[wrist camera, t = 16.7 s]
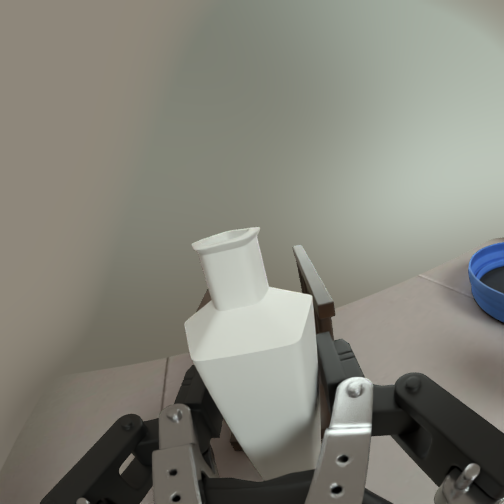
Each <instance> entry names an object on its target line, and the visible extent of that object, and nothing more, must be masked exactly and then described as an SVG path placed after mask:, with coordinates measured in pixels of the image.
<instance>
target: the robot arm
mask: <svg viewBox="0 0 504 504" xmlns="http://www.w3.org/2000/svg"><path fill="white" fill-rule="evenodd" d="M316 344H317V359H318V368H319V372H320V376H321V380H322V384H323V388H324V392H325V397H326V401H327V405H328V409H329V413H330V417H331V421H330V426H329V428H326V430H325V433H324V437H323V442H322V446H321V450H320V453H319V457H318V461H317V465H316V468H315V469H312V470H306V471H300V472H294V473H289V474H286V475H283V476H280V477H277V478H273V479H270V480H267V481H263V482H254V481H247V480H241V479H235V478H219V474H218V470H217V466H216V462H215V458H214V454H213V450H212V447H211V445H210V440H211V438H220V432H221V427H222V421H223V416H222V414H221V413H220V411H219V409H218V407H217V406H216V404H215V402H214V400H213V399H212V397H211V395H210V393H209V391H208V389H207V388H206V386H205V384H204V382H203V380H202V378H201V376H200V374H199V373H198V371H197V369H196V367H195V365H192V366H191V367H190V369H189V370H188V371H187V372H186V374H185V377H184V380H183V382H182V384H181V385H182V386H181V387H180V390H179V392H178V395H177V397H176V400H175V403H174V404H173V405H170V406H168V407H166V408H165V409H163V410H162V411H161V413H160V415H159V418H157V419H153V420H149V421H144V422H143V421H142V419H141V418H140V416H138V415H136V414H128V415H124V416H122V417H121V418H119V419H118V420H117V421H116V422H115V423H114V424H113V425H112V426H111V427H110V428H109V430H108V431H107V432H106V433H105V434H104V435H103V436H102V437H101V438H100V439H99V440H98V441H97V442H96V443H95V444H94V446H93V447H92V448H91V449H90V450H89V451H88V452H87V453H86V454H85V455H84V456H83V457H82V458H81V459H80V460H79V461H78V463H77V464H76V465H75V466H74V467H73V468H72V469H71V470H70V471H69V472H68V473H67V474H66V475H65V476H64V477H63V478H62V479H61V480H60V481H59V482H58V484H57V485H56V486H55V487H54V488H53V489H52V490H51V491H50V492H49V493H48V494H47V495H46V496H45V497H44V498H43V499H42V500H41V502H40V504H140V502H141V501H142V500H143V498H144V497H145V495H146V494H147V493H148V491H149V490H150V489H151V487H152V486H153V497H154V504H393V503H391V502H389V501H387V500H386V499H384V498H382V497H380V496H378V495H376V494H375V493H373V492H371V491H369V490H368V489H366V488H365V483H366V476H367V469H368V461H369V452H370V442H371V436H384V435H391V437H392V438H393V439H394V440H395V441H396V442H397V443H398V444H399V445H400V447H401V448H402V449H403V450H404V451H405V452H406V453H407V454H408V455H409V456H410V457H411V458H412V459H413V460H414V462H415V463H416V464H417V465H418V466H419V467H420V468H421V469H422V470H423V471H424V472H425V473H426V474H427V475H428V476H429V477H430V478H431V480H432V481H433V482H434V483H435V484H436V485H437V486H438V487H439V488H438V490H437V491H436V494H435V497H434V503H435V504H501V503H503V502H504V433H503V432H501V431H500V430H498V429H497V428H496V427H494V426H493V425H492V424H490V423H489V422H488V421H486V420H485V419H484V418H482V417H481V416H480V415H478V414H477V413H476V412H474V411H473V410H472V409H470V408H469V407H468V406H466V405H465V404H464V403H462V402H461V401H459V400H458V399H457V398H455V397H454V396H453V395H451V394H450V393H449V392H447V391H446V390H445V389H443V388H442V387H441V386H439V385H438V384H436V383H435V382H434V381H432V380H431V379H430V378H428V377H427V376H426V375H424V374H421V373H408V374H405V375H403V376H401V377H400V378H399V379H398V380H397V381H396V383H395V385H387V386H379V385H374V384H372V382H371V381H370V380H368V379H366V378H365V377H364V375H363V373H362V370H361V368H360V366H359V364H358V362H357V359H356V357H355V355H354V353H353V352H352V349H351V347H350V345H349V343H347V342H346V341H344V340H343V339H339V340H335V341H333V340H332V338H331V335H330V333H329V331H327V332H323V333H319V334H316ZM131 453H132V454H133V455H134V456H135V458H134V459H133V461H132V462H131V463H130V464H129V466H128V467H127V468H126V469H125V471H124V472H123V473H122V474H121V475H120V474H119V468H120V466H121V465H122V464H123V462H124V461H125V460H126V459H127V458H128V456H129V455H130V454H131Z"/></svg>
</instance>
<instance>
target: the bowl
mask: <svg viewBox="0 0 504 504" xmlns="http://www.w3.org/2000/svg"><path fill="white" fill-rule="evenodd" d="M468 273H469V279H470V282H471V285H472V294H473V296H474V298H475V300H476V302H477V303H478V305H479V306H480V307H481V308H482V309H483V310H484V311H485V312H487V313H488V314H489V315H491V316H492V317H494V318H496V319H498V320H499V321H501V322H504V242H502V243H497V244H493V245H489V246H487V247H484V248H482V249H480V250H479V251H477V252H476V253H475V254H474V255H473V256H472V257H471V259H470V262H469V269H468Z"/></svg>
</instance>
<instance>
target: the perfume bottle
mask: <svg viewBox="0 0 504 504" xmlns="http://www.w3.org/2000/svg"><path fill="white" fill-rule="evenodd" d="M259 230H260V227H253V228H245V229H237V230H230V231H226V232H223V233H219V234H216V235H213V236H211V237H208V238H205V239H202V240H199V241H196V242H194V243H192V247H193V249H194V250H195V251H196V252H197V253H198V255H199V259H200V262H201V266H202V269H203V273H204V276H205V279H206V283H207V286H208V289H209V293H210V296H211V299H212V300H211V301H210V302H209V303H207V304H206V305H205V306H204V307H202V308H201V309H200V310H199V311H198V312H196V313H195V314H194V315H193V316H192V317H191V318H189V319H188V320H187V321H186V322H185V323H184V325H185V331H186V335H187V341H188V346H189V351H190V356H191V359H192V361H193V363H194V365H195V367H196V369H197V371H198V373H199V374H200V376H201V378H202V380H203V382H204V384H205V386H206V388H207V389H208V391H209V393H210V395H211V397H212V399H213V400H214V402H215V404H216V406H217V407H218V409H219V411H220V413H221V414H222V416H223V418H224V419H225V421H226V423H227V424H228V426H229V428H230V429H231V431H232V433H233V434H234V436H235V438H236V439H237V441H238V442H239V444H240V445H241V447H242V449H243V450H244V452H245V453H246V455H247V456H248V458H249V459H250V461H251V462H252V464H253V465H254V467H255V468H256V470H257V471H258V473H259V474H260V475H261V477H262V478H263V480H264V481H267V480H270V479H273V478H277V477H280V476H283V475H286V474H289V473H294V472H300V471H306V470H312V469H315V468H316V465H317V461H318V457H319V453H320V450H321V422H320V394H319V375H318V359H317V344H316V332H315V320H314V309H313V298H312V296H311V295H309V294H303V293H298V292H293V291H288V290H283V289H277V288H273V287H269V285H268V281H267V277H266V272H265V268H264V264H263V260H262V255H261V251H260V247H259V243H258V239H257V235H258V233H259Z"/></svg>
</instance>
